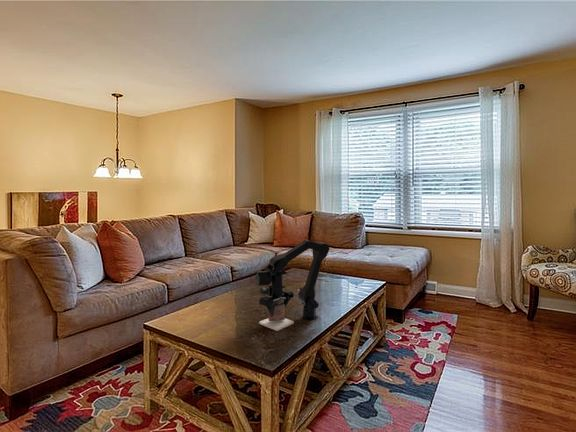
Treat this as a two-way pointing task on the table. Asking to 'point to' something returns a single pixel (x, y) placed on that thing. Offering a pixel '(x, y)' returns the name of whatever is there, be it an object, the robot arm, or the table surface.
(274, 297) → the robot arm
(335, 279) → the table surface
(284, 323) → the coaster
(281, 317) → the lighter
